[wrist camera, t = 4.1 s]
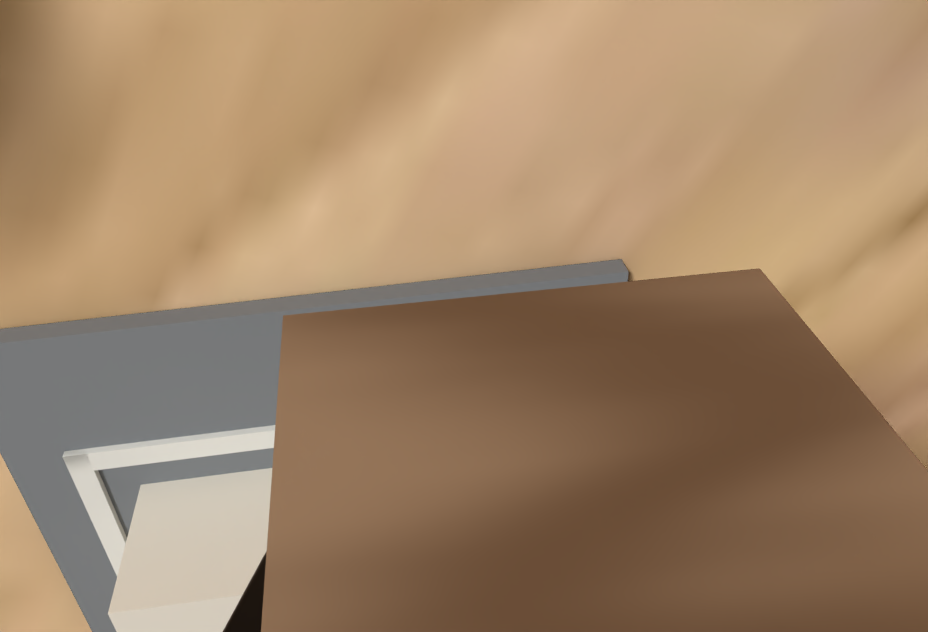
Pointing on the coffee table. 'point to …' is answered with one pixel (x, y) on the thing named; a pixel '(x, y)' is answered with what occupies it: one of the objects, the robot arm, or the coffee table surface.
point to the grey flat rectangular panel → (168, 406)
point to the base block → (191, 552)
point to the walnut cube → (587, 469)
